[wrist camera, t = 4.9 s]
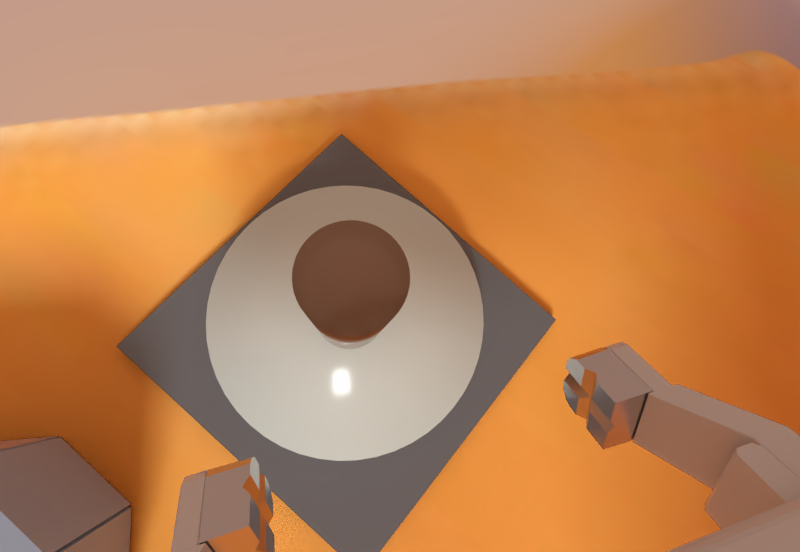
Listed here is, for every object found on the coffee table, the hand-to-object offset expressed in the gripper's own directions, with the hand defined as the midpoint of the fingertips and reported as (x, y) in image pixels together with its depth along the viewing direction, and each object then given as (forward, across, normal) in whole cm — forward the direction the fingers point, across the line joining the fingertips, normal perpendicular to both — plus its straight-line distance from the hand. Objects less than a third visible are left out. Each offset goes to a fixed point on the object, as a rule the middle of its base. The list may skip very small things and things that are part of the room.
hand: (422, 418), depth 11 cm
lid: (+9, +1, +3) cm, 10 cm away
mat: (+9, +1, +4) cm, 10 cm away
